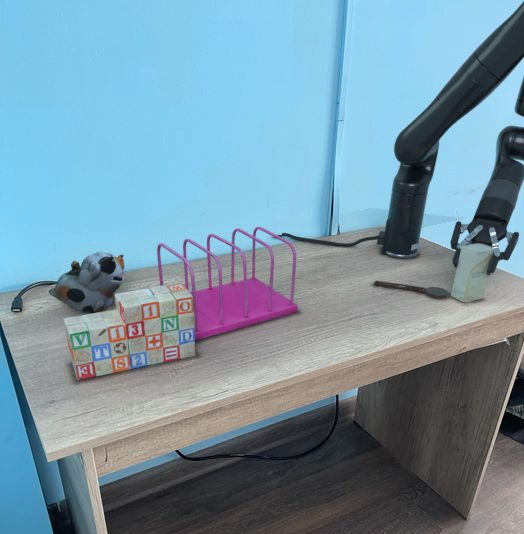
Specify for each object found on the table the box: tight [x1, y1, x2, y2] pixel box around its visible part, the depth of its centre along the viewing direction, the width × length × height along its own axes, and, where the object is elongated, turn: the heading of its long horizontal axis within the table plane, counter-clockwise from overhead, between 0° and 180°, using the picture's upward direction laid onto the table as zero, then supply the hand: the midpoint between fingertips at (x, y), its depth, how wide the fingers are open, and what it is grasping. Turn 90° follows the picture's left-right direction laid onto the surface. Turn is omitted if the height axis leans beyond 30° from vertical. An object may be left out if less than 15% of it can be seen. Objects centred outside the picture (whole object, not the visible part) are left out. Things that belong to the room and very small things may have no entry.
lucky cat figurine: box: [48, 251, 125, 314], centre depth 113 cm, size 15×12×14 cm
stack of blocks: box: [63, 283, 197, 381], centre depth 93 cm, size 21×6×12 cm, turn 115°
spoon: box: [373, 280, 449, 300], centre depth 125 cm, size 17×5×1 cm, turn 72°
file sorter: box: [156, 226, 298, 342], centre depth 111 cm, size 17×25×16 cm
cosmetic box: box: [450, 243, 494, 303], centre depth 119 cm, size 6×4×12 cm
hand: (471, 269), depth 118 cm, fingers closed on cosmetic box, 6 cm apart
